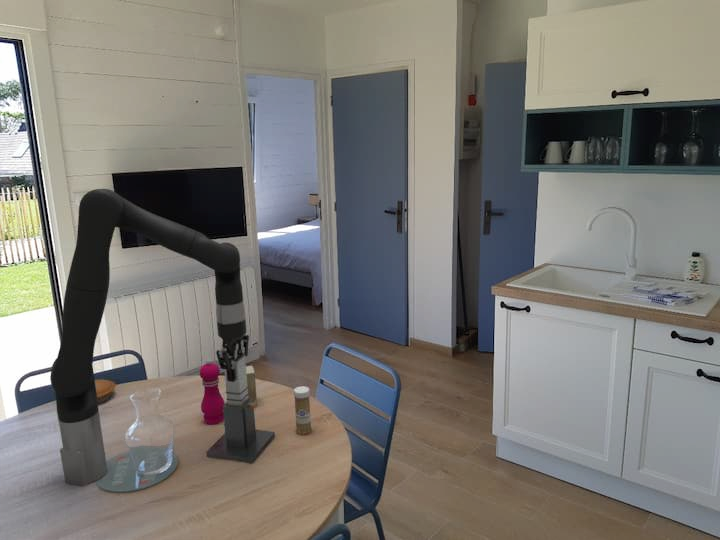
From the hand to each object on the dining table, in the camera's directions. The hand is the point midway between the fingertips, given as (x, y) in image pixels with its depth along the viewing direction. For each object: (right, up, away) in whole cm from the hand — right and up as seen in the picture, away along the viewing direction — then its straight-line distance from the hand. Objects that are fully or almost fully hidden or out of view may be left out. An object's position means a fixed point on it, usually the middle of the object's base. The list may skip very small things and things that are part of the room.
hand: (235, 377), depth 149 cm
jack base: (+1, -20, +5) cm, 21 cm away
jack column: (0, -13, +3) cm, 14 cm away
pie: (-58, -15, +37) cm, 70 cm away
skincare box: (-2, -15, +30) cm, 34 cm away
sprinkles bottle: (+17, -19, +12) cm, 28 cm away
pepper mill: (-11, -17, +20) cm, 29 cm away
